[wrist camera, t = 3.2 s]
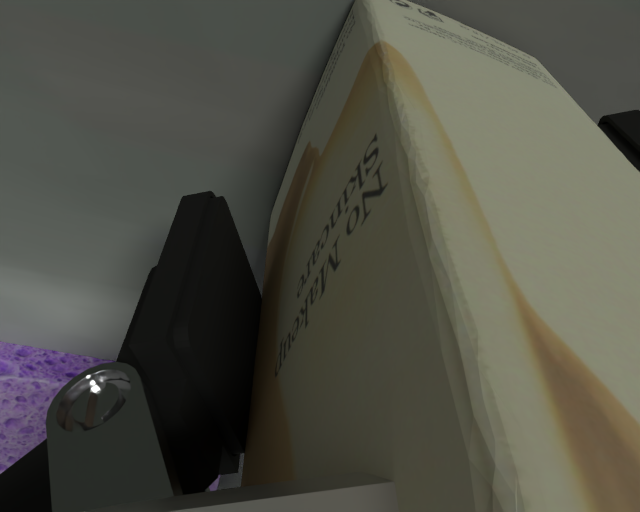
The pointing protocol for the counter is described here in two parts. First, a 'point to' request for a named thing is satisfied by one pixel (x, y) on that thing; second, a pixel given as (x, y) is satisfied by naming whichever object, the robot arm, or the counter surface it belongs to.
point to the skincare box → (450, 282)
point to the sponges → (33, 395)
